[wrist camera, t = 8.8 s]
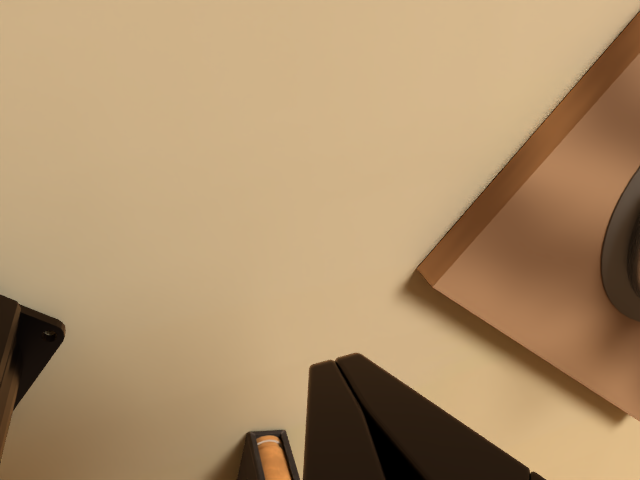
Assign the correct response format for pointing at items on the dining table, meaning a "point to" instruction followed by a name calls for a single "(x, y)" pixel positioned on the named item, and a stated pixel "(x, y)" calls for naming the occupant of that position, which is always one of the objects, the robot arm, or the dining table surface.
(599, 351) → the dial plate
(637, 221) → the dial knob
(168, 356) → the dining table surface
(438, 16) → the dining table surface
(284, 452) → the ammunition clip
